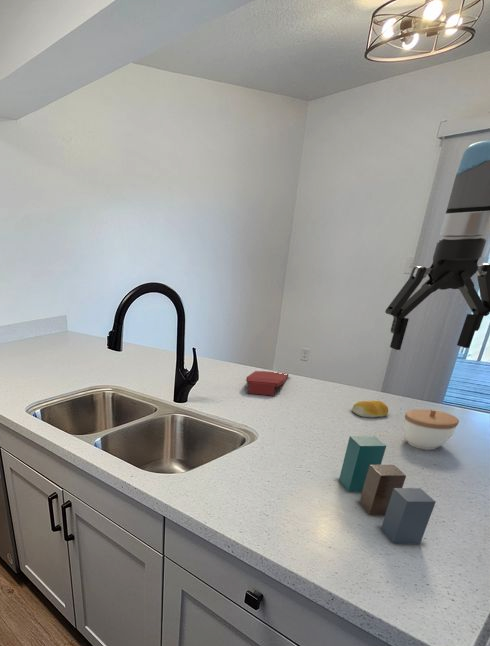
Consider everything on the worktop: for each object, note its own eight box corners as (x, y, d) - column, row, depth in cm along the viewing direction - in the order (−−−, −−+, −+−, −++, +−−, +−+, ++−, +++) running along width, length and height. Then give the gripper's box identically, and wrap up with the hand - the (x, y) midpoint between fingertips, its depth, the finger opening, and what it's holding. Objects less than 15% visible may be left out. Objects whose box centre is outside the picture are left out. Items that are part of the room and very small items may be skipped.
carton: (254, 383, 174) (242, 392, 153) (255, 370, 172) (244, 378, 151) (286, 386, 168) (279, 396, 147) (288, 373, 166) (281, 382, 146)
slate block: (406, 529, 81) (420, 488, 77) (420, 544, 77) (436, 501, 73) (380, 528, 82) (393, 487, 78) (393, 543, 78) (407, 501, 74)
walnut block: (382, 502, 89) (393, 464, 85) (393, 515, 85) (406, 475, 81) (358, 502, 90) (369, 464, 86) (369, 515, 86) (380, 475, 82)
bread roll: (393, 416, 128) (397, 403, 126) (365, 419, 127) (368, 406, 125) (372, 407, 135) (375, 394, 134) (346, 410, 134) (349, 397, 133)
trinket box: (423, 456, 106) (435, 420, 101) (387, 439, 115) (397, 405, 111) (459, 450, 107) (473, 415, 103) (421, 433, 117) (432, 400, 113)
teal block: (362, 480, 98) (374, 435, 93) (373, 492, 93) (386, 445, 88) (338, 480, 98) (349, 435, 93) (348, 491, 94) (360, 446, 89)
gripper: (518, 233, 86) (479, 341, 96) (383, 241, 89) (359, 345, 99) (550, 233, 80) (505, 349, 89) (403, 241, 82) (375, 353, 92)
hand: (428, 347), depth 94 cm, fingers open, 13 cm apart
